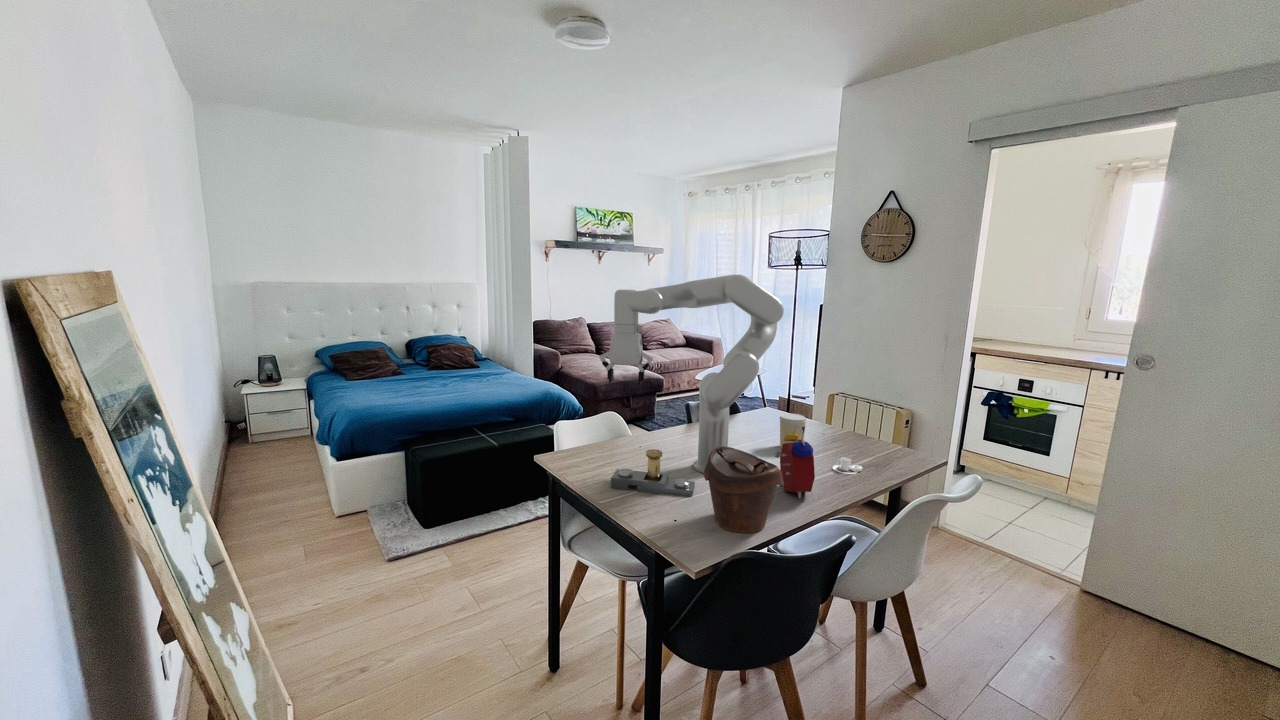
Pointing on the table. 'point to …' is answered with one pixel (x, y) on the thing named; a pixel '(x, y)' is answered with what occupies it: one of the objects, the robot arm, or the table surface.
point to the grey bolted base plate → (651, 483)
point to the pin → (654, 464)
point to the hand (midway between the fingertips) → (625, 382)
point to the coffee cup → (791, 426)
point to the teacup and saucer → (847, 466)
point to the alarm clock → (797, 464)
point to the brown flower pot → (741, 488)
